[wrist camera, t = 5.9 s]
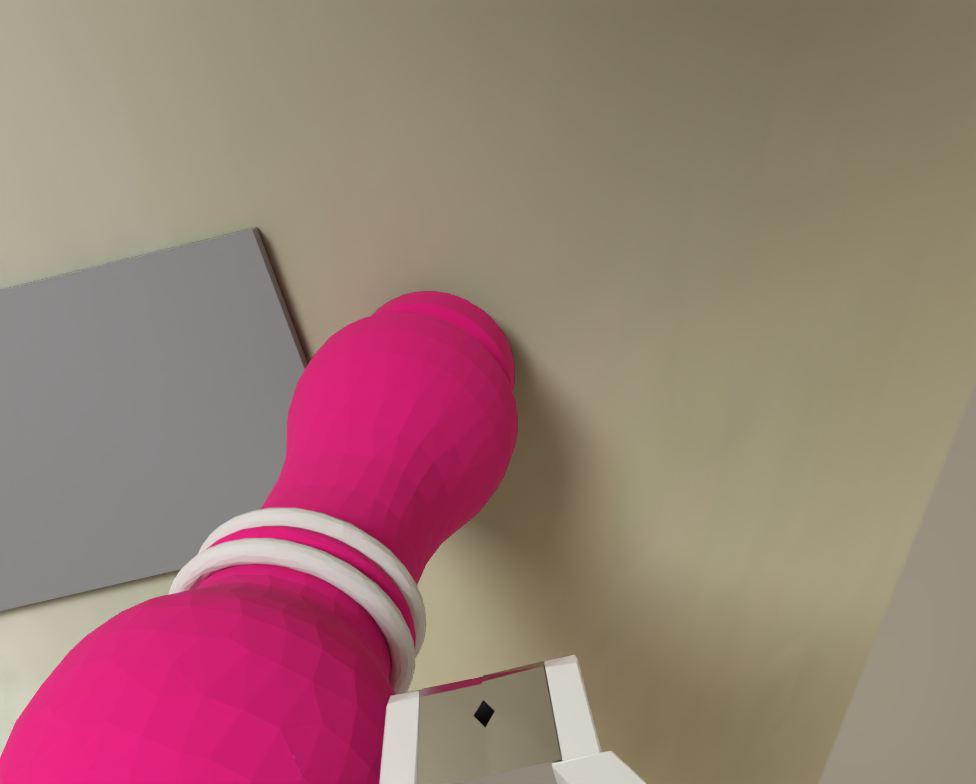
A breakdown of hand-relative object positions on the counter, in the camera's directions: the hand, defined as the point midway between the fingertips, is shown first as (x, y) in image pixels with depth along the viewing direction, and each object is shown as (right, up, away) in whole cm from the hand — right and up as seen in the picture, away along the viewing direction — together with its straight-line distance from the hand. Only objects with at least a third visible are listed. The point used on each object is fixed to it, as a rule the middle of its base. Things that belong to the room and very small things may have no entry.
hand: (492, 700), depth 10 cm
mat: (-18, +2, +15) cm, 23 cm away
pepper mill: (-2, +6, +14) cm, 16 cm away
